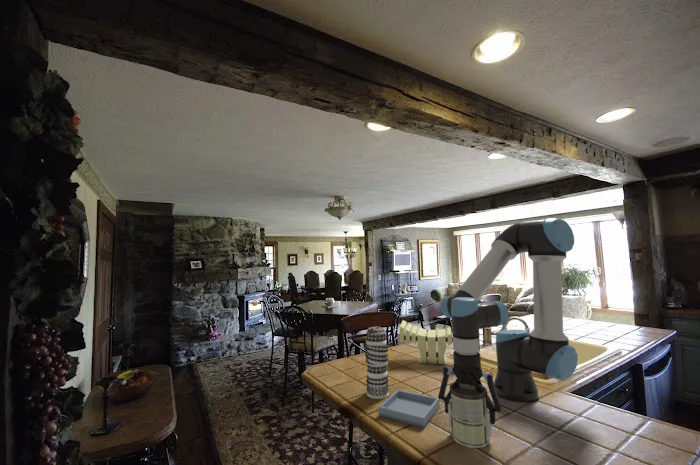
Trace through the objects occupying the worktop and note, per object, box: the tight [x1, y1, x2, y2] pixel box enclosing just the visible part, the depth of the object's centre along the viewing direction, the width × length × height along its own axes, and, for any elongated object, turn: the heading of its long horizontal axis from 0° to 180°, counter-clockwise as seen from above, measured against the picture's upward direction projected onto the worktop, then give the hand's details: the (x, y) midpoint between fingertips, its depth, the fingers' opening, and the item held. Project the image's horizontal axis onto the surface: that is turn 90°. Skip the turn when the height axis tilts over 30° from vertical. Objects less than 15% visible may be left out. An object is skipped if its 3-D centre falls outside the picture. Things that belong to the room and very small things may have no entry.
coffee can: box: [449, 382, 490, 449], centre depth 94 cm, size 10×10×14 cm
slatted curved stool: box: [399, 319, 453, 365], centre depth 163 cm, size 30×16×18 cm, turn 74°
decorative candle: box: [364, 326, 390, 400], centre depth 126 cm, size 9×9×25 cm
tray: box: [378, 389, 441, 429], centre depth 110 cm, size 16×16×3 cm
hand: (470, 429), depth 94 cm, fingers closed on coffee can, 10 cm apart
